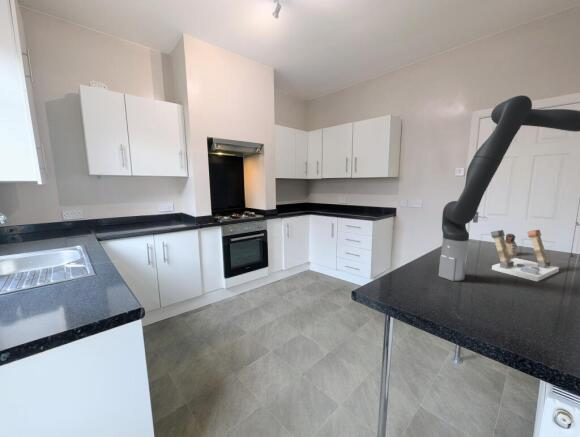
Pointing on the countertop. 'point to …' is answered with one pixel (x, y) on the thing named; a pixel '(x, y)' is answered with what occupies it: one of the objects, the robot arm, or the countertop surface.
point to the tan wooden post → (501, 246)
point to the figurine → (511, 244)
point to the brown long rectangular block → (538, 246)
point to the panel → (526, 275)
